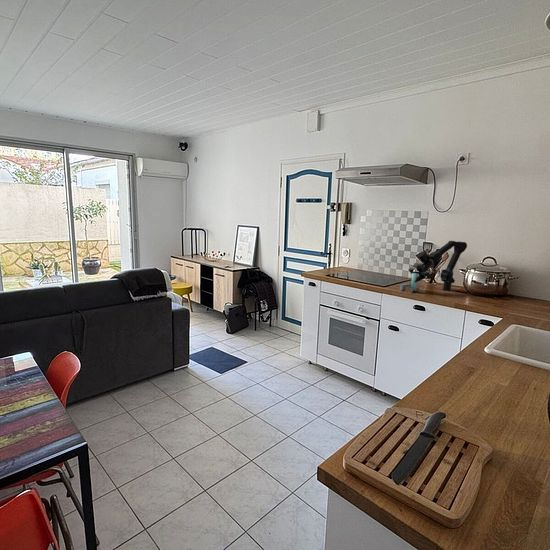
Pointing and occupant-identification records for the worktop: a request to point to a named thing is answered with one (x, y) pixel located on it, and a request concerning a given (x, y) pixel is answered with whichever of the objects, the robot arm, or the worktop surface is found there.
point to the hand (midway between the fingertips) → (412, 281)
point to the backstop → (402, 286)
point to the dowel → (413, 283)
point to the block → (411, 289)
